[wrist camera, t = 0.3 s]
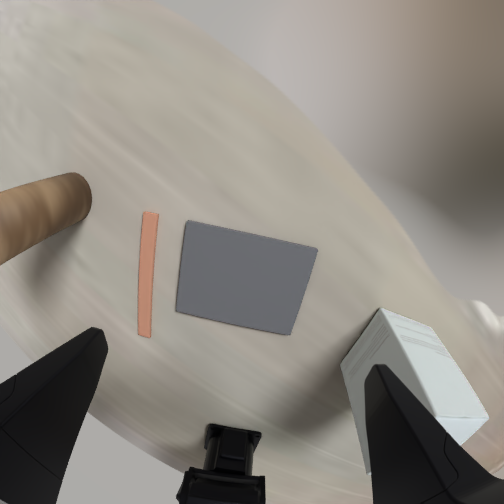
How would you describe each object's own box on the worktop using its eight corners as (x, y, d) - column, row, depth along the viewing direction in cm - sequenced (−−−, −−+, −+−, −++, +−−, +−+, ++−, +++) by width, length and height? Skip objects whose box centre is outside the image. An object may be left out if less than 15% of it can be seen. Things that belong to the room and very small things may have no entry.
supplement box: (337, 364, 26) (362, 477, 14) (380, 304, 23) (439, 414, 12) (391, 379, 27) (426, 474, 15) (433, 326, 24) (492, 418, 12)
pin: (90, 225, 22) (2, 279, 12) (55, 217, 22) (-32, 262, 12) (93, 175, 21) (-6, 206, 10) (56, 170, 21) (-39, 197, 10)
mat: (289, 332, 25) (290, 335, 24) (177, 308, 25) (176, 310, 24) (317, 248, 22) (318, 250, 22) (188, 220, 22) (186, 221, 21)
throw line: (150, 336, 26) (149, 337, 26) (139, 332, 26) (138, 334, 26) (158, 214, 22) (157, 215, 21) (145, 211, 22) (143, 212, 21)
